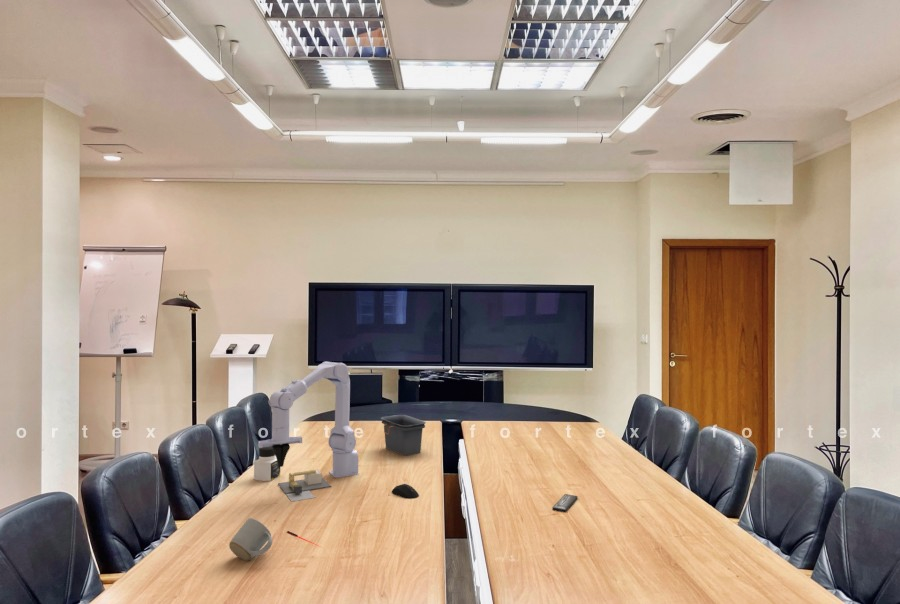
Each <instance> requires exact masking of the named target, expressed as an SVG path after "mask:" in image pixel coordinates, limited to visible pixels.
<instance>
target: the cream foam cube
mask: <svg viewBox="0 0 900 604" xmlns="http://www.w3.org/2000/svg"><path fill="white" fill-rule="evenodd" d="M314 470H315V471H316V473H313V474H306V475H303V476H304V478H303V479H304V481H305V482H306V483H307V484H308V485H311V484H317V483H322V478H323V477H322V476H323V473H322V472H321V471H320V470H319V469H314Z"/></svg>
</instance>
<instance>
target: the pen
mask: <svg viewBox="0 0 900 604" xmlns="http://www.w3.org/2000/svg"><path fill="white" fill-rule="evenodd" d="M286 533H287V534H289V535H292V536H294V537H296V538H298V539H301V540H303V541H306V542H308V543H310V544H313V545H315V546H318V547H320V548H322V546H320V545H318V544H316V543H314V542H312V541H309V540H308V539H305V538H303V537H302V536H299V535H298V534H296V533H294V532H291V531H289V530H287V531H286Z"/></svg>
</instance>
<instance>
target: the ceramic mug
mask: <svg viewBox="0 0 900 604" xmlns="http://www.w3.org/2000/svg"><path fill="white" fill-rule="evenodd" d="M272 545H273V538H272V533H271V531H270V530H269V529H268V528H267V526H266V525H265V524H264V523H262V522H260V520H258V519H255V518H252V517H248V518H247V520H245V521H244V523H243V524H242V526H241V527H240V528H239V530H237V532H236V533H235V535H234V536H233V537H232V538H231V540H230V542H229V545H228V546H229V549H230V551H231V552H232V553H233V554H234V555H235V556H236V557H238V558H239V559H240V560H241V559H242V560H244V561H246V562H249V561H251V560H252V559H253V558H254V557H256V556H257V557H258V556H261V555H263V554H265V553H266V552H268V550H269V549H270V548H271V547H272Z"/></svg>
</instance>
